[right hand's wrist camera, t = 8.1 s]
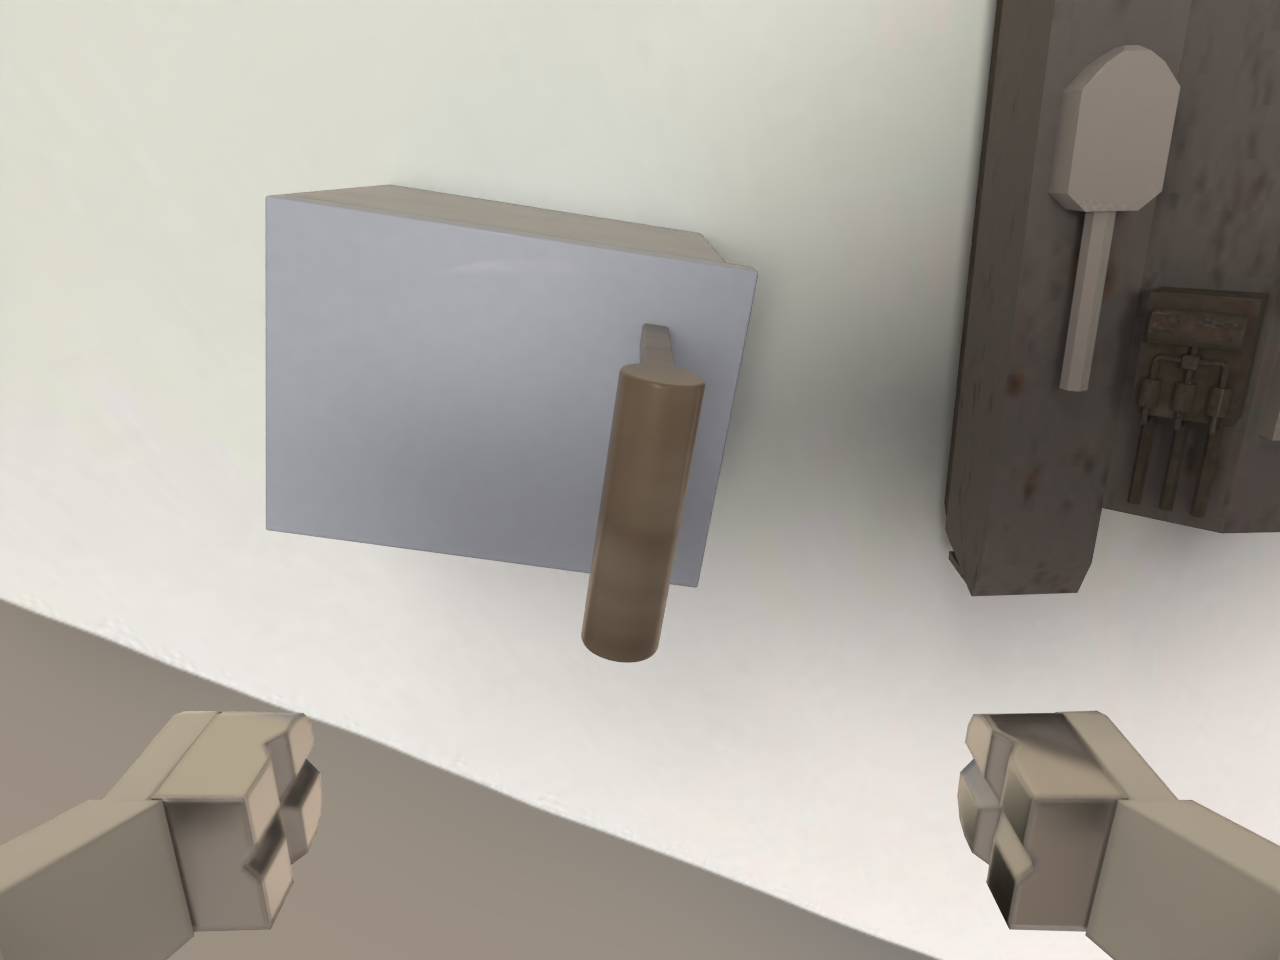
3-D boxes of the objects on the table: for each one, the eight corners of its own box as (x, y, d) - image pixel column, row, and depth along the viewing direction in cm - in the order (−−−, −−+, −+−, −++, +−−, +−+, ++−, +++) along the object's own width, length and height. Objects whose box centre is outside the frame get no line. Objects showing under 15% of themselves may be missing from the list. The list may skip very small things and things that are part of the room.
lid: (753, 267, 24) (810, 319, 16) (694, 572, 27) (718, 739, 19) (281, 193, 23) (97, 210, 15) (279, 516, 26) (127, 666, 18)
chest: (701, 233, 33) (727, 263, 24) (663, 460, 37) (672, 568, 27) (388, 184, 33) (282, 193, 23) (377, 419, 36) (280, 515, 26)
